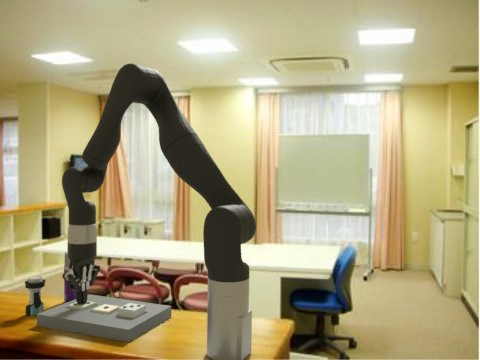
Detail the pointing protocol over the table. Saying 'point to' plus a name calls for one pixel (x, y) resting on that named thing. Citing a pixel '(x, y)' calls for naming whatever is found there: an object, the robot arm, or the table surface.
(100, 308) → the tile one pip
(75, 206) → the robot arm
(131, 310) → the tile three pips
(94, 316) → the button board
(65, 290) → the container
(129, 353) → the table surface
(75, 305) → the tile two pips
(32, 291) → the push button
